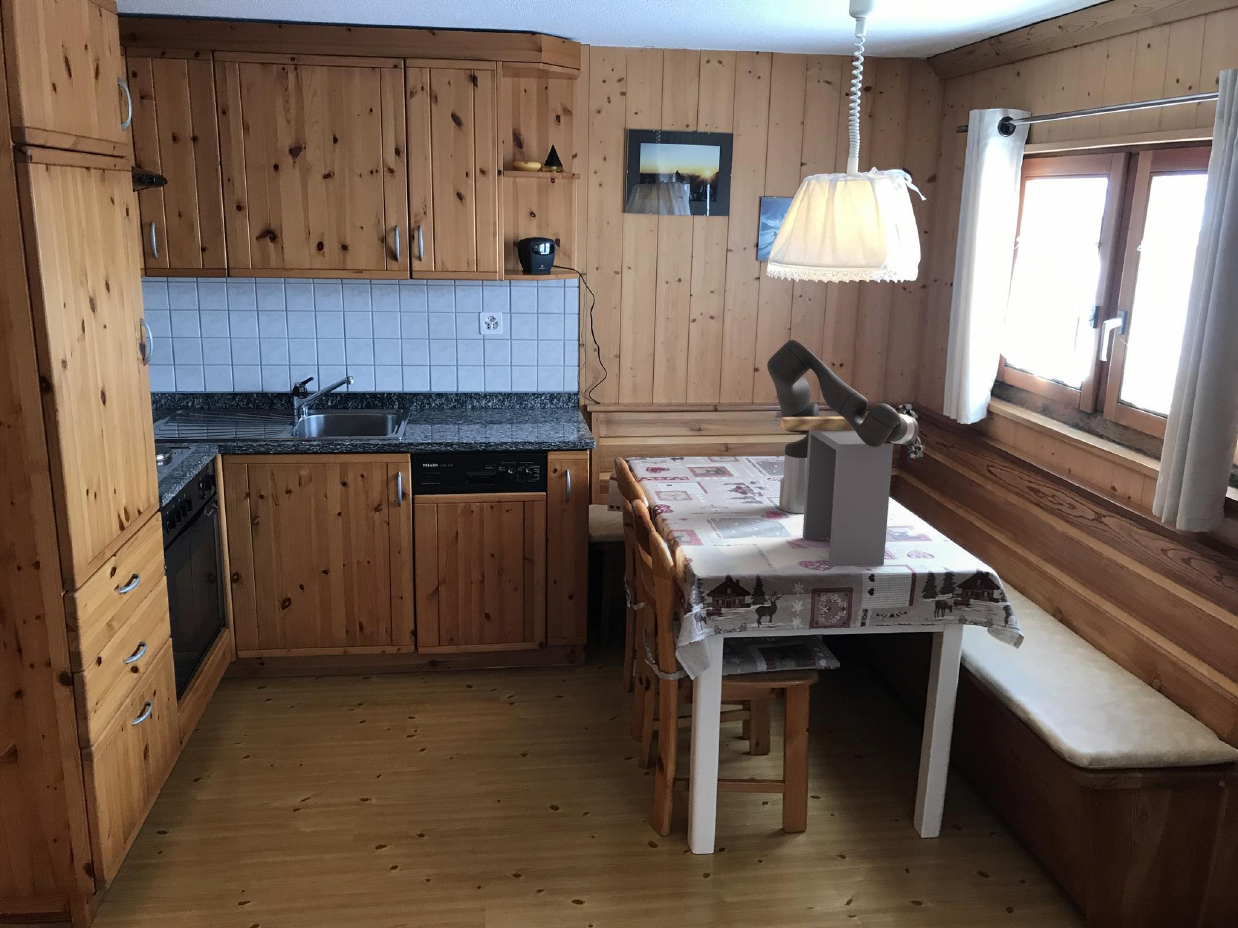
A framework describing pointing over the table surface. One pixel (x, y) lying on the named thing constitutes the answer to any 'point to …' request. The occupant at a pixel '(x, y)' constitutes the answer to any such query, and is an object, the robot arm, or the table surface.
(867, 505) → the gray shelf
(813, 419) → the wooden rod
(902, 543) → the table surface
